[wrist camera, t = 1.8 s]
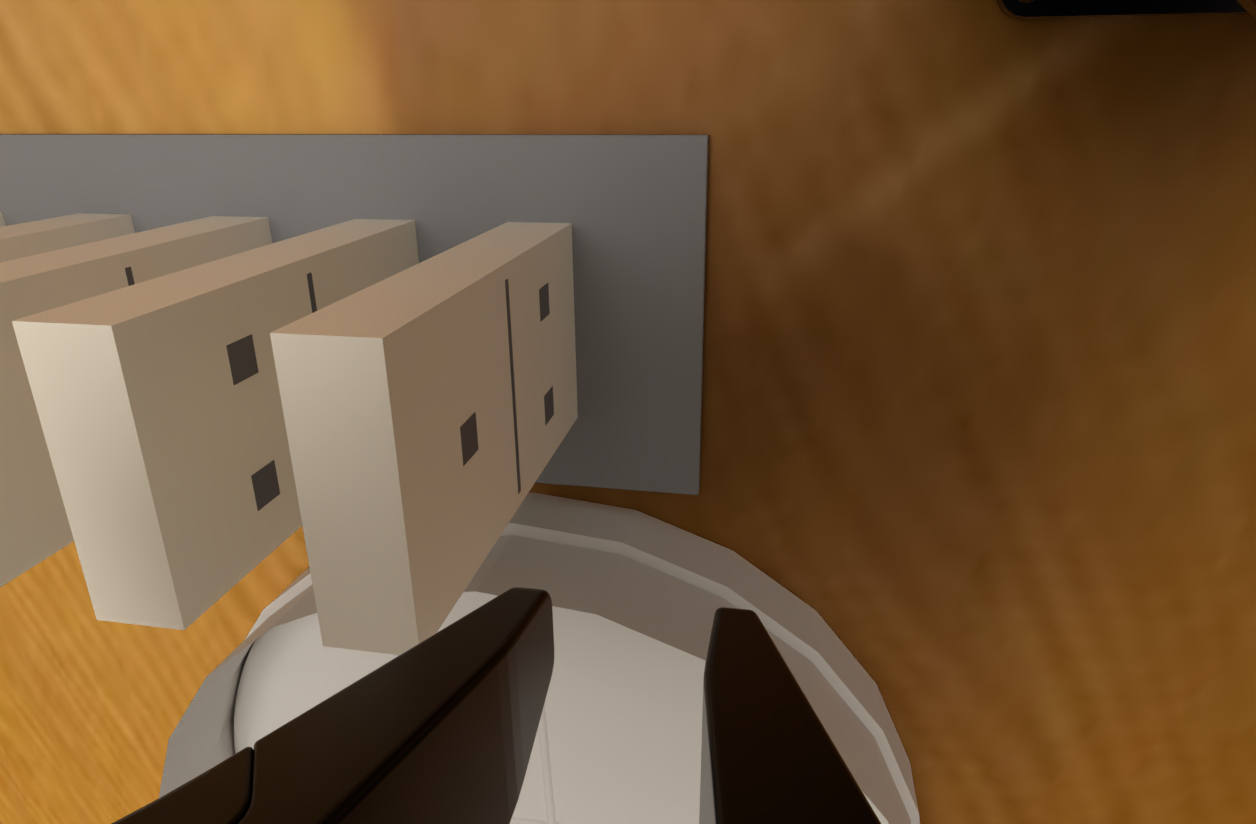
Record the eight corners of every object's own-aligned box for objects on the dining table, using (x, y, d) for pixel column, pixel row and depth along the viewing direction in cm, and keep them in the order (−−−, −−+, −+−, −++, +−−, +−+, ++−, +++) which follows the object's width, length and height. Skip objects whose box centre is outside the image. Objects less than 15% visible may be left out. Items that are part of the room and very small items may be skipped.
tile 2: (415, 220, 21) (111, 325, 11) (433, 408, 22) (184, 629, 13) (354, 218, 21) (11, 320, 12) (377, 405, 23) (96, 619, 13)
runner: (708, 135, 19) (706, 135, 19) (699, 489, 22) (698, 495, 22) (-66, 133, 22) (-77, 134, 22) (24, 439, 26) (15, 443, 25)
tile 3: (268, 217, 21) (-129, 314, 12) (298, 400, 23) (-28, 605, 14) (211, 215, 22) (-218, 310, 12) (245, 397, 23) (-109, 596, 14)
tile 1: (571, 223, 20) (383, 338, 11) (577, 417, 22) (421, 657, 13) (506, 221, 20) (269, 332, 11) (518, 413, 22) (322, 645, 13)
